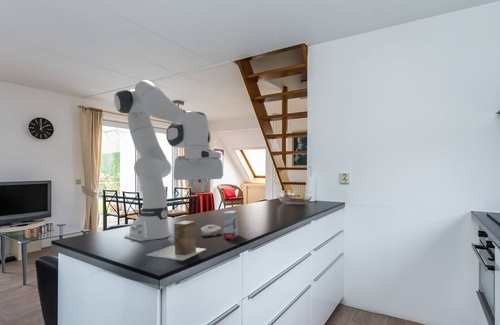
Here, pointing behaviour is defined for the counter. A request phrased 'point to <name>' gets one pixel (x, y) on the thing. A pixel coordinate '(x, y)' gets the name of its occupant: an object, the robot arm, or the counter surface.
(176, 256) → the mat
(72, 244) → the counter surface
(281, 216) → the counter surface
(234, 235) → the ink box
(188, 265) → the counter surface
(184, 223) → the walnut block
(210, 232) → the fossil
